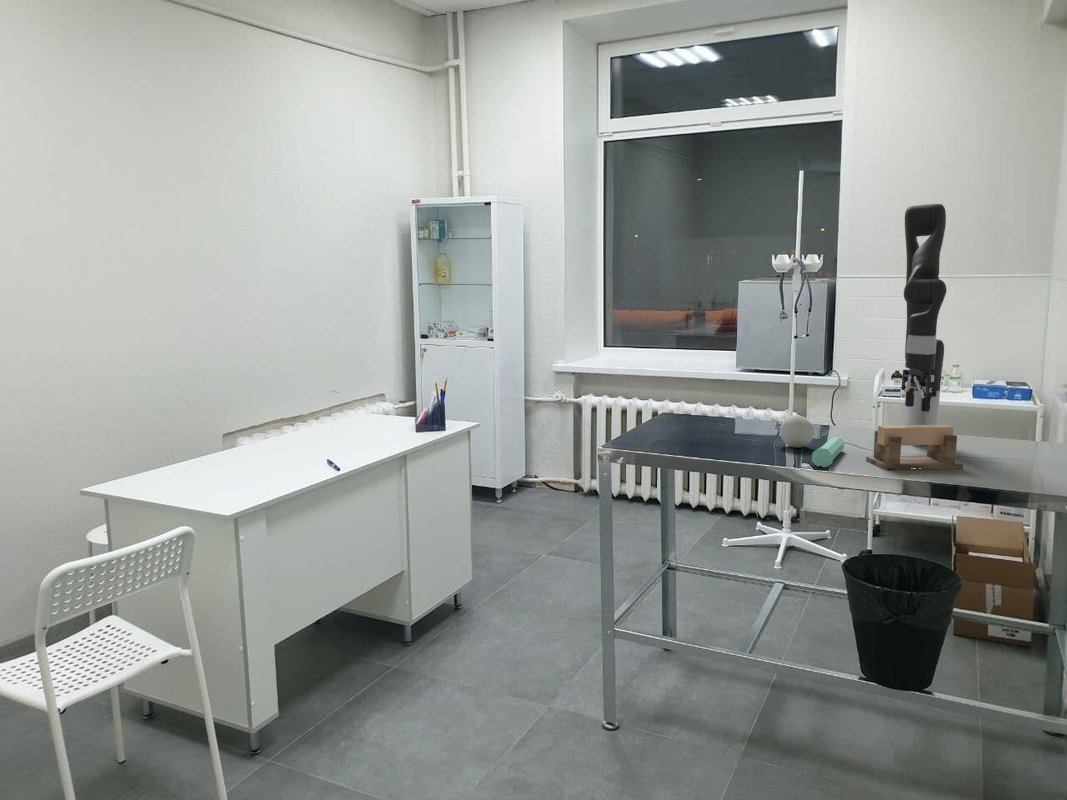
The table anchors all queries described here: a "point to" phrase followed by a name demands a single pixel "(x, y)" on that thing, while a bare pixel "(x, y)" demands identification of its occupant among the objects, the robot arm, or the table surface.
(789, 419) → the grey ball
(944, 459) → the rack
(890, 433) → the tan rectangular block
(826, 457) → the mint green octagonal prism
